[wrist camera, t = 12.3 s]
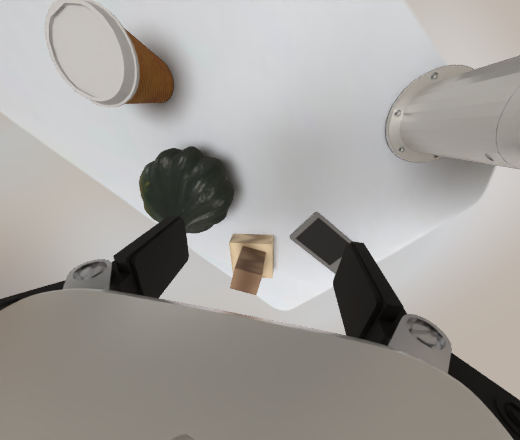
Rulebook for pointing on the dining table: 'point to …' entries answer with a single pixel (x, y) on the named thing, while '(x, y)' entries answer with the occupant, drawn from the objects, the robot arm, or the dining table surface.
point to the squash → (186, 188)
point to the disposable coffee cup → (103, 56)
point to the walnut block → (248, 270)
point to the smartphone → (321, 241)
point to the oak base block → (253, 242)
